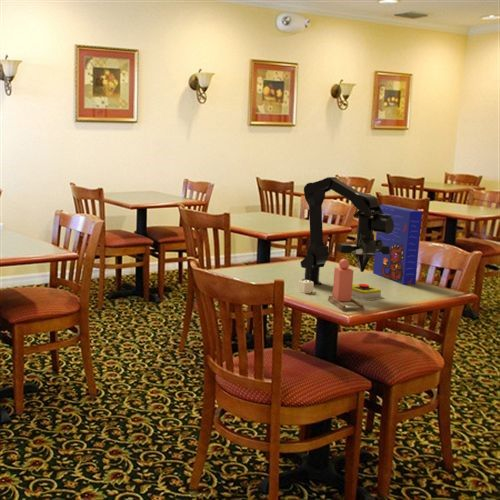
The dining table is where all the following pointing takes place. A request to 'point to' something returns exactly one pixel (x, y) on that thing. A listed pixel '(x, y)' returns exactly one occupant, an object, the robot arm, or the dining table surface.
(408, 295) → the dining table surface
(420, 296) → the dining table surface
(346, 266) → the pawn
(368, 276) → the dining table surface
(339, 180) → the robot arm
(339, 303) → the track
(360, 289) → the emergency button
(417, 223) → the cereal box
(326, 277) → the dining table surface
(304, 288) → the die
